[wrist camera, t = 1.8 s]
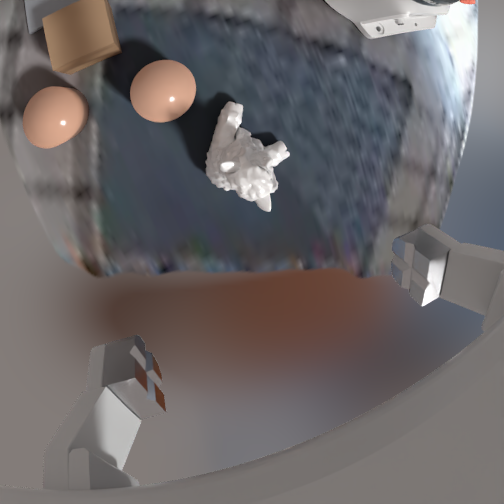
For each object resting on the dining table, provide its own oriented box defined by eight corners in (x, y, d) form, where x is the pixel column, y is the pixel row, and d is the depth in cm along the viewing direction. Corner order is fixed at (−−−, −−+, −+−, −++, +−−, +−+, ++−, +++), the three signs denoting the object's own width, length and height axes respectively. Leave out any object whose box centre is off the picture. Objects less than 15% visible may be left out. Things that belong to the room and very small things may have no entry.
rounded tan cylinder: (183, 59, 26) (187, 52, 22) (196, 109, 30) (203, 110, 25) (128, 76, 26) (123, 72, 21) (143, 126, 29) (140, 131, 25)
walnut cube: (111, 8, 21) (102, -9, 16) (122, 52, 24) (114, 42, 19) (60, 30, 20) (42, 18, 15) (70, 74, 23) (52, 70, 18)
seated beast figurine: (288, 149, 35) (342, 175, 25) (242, 203, 36) (277, 249, 26) (230, 97, 30) (265, 96, 20) (179, 156, 32) (189, 186, 21)
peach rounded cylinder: (81, 78, 24) (67, 75, 20) (95, 127, 27) (84, 132, 23) (34, 102, 23) (16, 104, 19) (49, 149, 26) (33, 158, 22)
